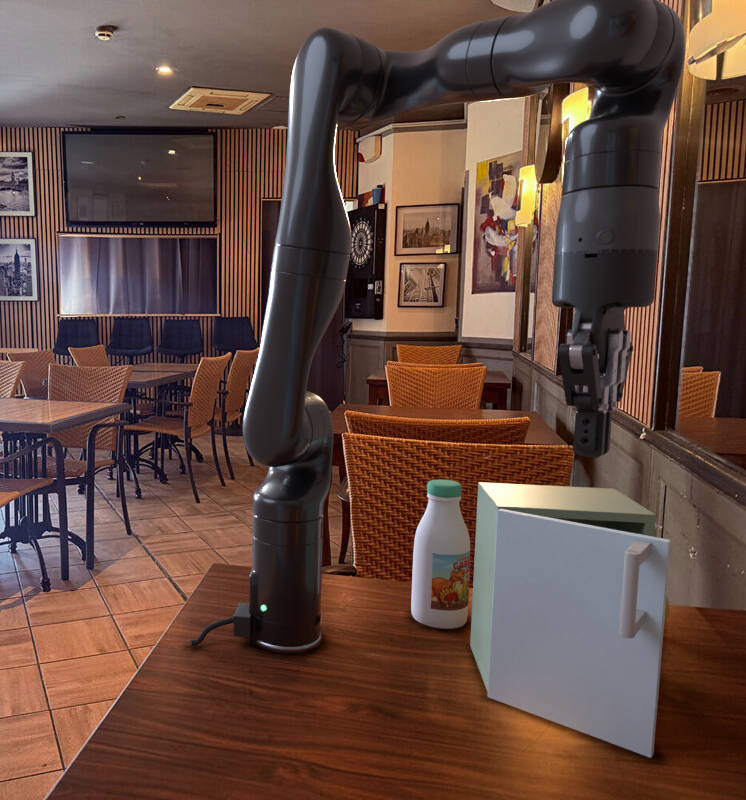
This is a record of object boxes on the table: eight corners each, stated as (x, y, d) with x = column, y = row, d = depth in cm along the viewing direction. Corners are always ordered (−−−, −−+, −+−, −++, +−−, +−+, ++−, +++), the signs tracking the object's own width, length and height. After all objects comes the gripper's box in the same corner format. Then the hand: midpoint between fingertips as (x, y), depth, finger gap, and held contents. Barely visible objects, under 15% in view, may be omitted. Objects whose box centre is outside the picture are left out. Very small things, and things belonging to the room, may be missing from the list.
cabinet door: (638, 783, 64) (657, 555, 61) (468, 715, 74) (478, 519, 72) (653, 753, 68) (671, 539, 66) (490, 694, 79) (500, 508, 77)
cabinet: (641, 709, 76) (656, 514, 74) (487, 693, 79) (497, 506, 77) (602, 658, 88) (614, 488, 86) (470, 646, 91) (478, 482, 89)
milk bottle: (407, 624, 97) (413, 485, 95) (413, 604, 104) (418, 474, 102) (466, 634, 94) (473, 491, 92) (468, 612, 101) (474, 479, 99)
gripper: (580, 258, 65) (568, 440, 67) (529, 246, 55) (517, 459, 57) (674, 253, 60) (658, 450, 62) (636, 238, 50) (619, 473, 52)
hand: (590, 454), depth 60 cm, fingers closed
